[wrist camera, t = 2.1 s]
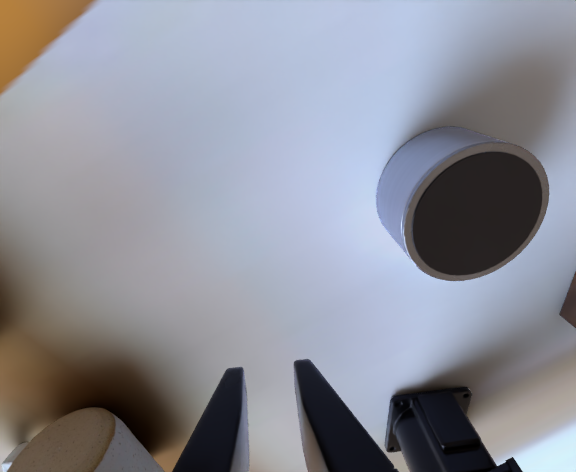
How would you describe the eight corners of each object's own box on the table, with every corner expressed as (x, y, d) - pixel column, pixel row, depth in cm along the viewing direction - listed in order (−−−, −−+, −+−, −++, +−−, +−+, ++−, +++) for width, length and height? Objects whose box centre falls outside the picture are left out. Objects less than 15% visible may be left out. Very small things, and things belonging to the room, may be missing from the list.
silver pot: (482, 240, 23) (528, 275, 19) (371, 250, 22) (397, 288, 18) (509, 122, 20) (570, 137, 16) (380, 130, 19) (413, 148, 15)
